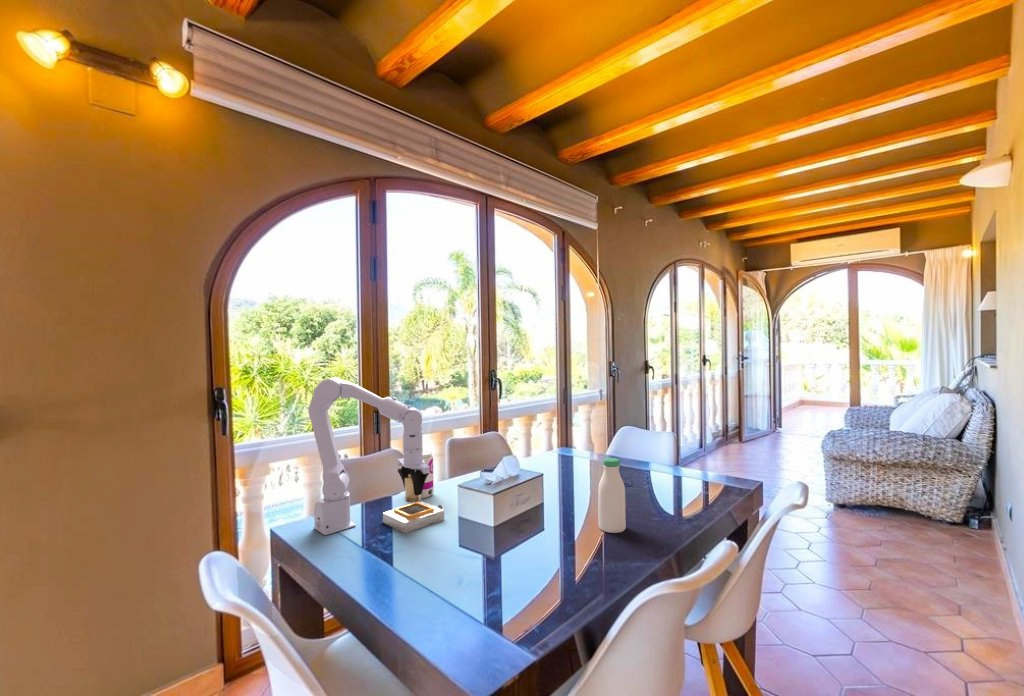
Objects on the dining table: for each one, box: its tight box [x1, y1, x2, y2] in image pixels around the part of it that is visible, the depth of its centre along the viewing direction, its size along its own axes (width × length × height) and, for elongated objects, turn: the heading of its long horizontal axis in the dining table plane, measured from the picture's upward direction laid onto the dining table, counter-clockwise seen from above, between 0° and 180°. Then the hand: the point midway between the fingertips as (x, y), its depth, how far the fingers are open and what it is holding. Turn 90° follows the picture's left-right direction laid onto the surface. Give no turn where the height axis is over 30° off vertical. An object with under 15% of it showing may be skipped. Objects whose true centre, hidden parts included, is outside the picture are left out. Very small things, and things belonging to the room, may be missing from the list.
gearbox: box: [382, 500, 445, 534], centre depth 142 cm, size 17×12×4 cm
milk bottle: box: [597, 457, 627, 534], centre depth 134 cm, size 8×8×20 cm
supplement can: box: [415, 450, 435, 499], centre depth 166 cm, size 8×8×15 cm
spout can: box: [404, 473, 422, 503], centre depth 142 cm, size 6×4×8 cm
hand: (413, 492), depth 141 cm, fingers closed on spout can, 4 cm apart
